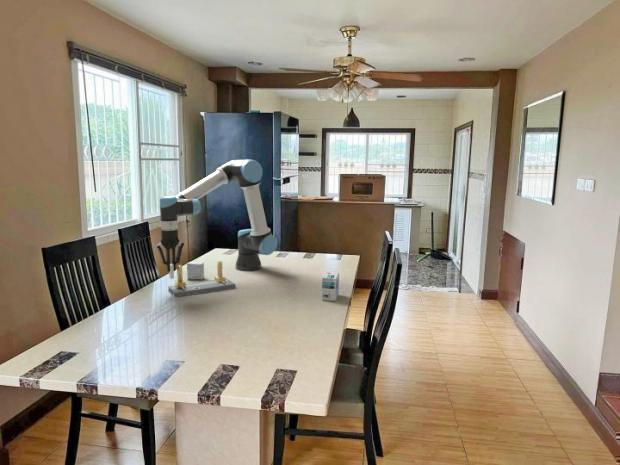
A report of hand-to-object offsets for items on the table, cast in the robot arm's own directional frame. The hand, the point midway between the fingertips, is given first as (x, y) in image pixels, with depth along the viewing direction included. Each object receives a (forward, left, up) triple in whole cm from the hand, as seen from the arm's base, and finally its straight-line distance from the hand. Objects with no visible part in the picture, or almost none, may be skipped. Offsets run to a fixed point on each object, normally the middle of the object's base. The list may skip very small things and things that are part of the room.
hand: (171, 277), depth 211 cm
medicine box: (-17, -18, -7) cm, 26 cm away
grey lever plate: (-14, +2, -7) cm, 16 cm away
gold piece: (-4, +2, -5) cm, 7 cm away
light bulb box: (-62, +44, -8) cm, 77 cm away
